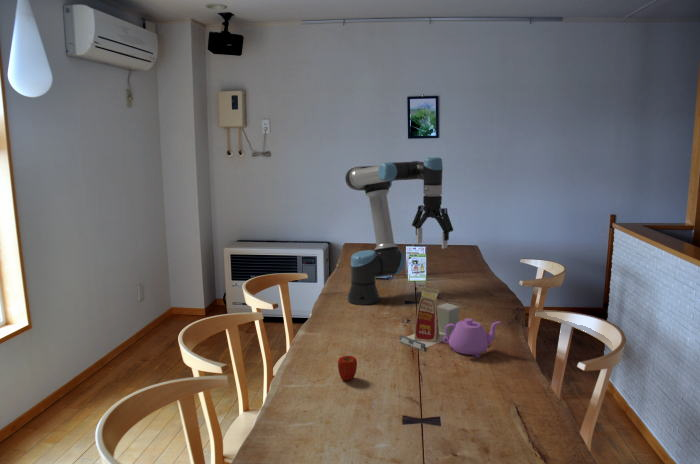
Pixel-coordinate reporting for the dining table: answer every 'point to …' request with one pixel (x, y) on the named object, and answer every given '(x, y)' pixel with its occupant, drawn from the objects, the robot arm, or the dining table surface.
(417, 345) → the grey angled plate
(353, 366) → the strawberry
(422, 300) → the milk carton
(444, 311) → the grey rectangular block
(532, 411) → the dining table surface
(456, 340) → the teapot
